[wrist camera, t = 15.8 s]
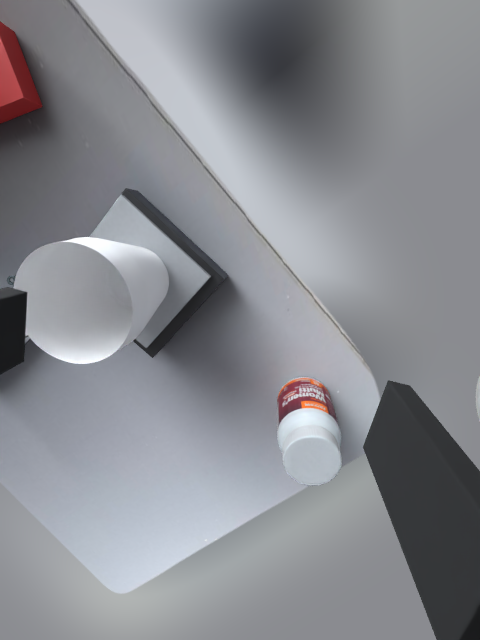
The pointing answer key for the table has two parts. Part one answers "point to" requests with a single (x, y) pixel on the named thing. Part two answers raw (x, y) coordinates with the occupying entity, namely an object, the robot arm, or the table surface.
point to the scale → (178, 257)
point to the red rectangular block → (14, 79)
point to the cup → (89, 296)
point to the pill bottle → (308, 432)
